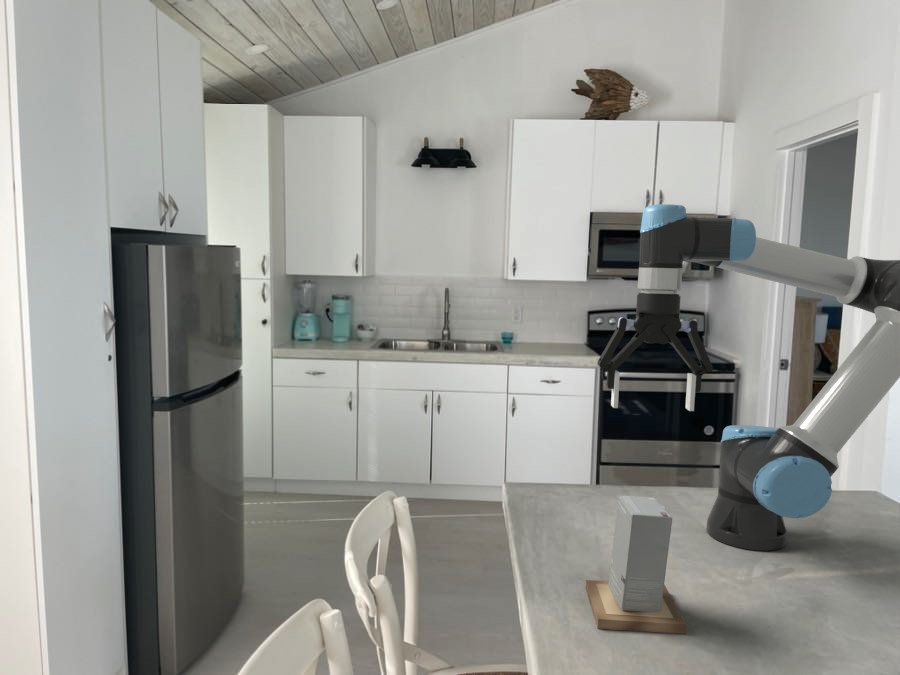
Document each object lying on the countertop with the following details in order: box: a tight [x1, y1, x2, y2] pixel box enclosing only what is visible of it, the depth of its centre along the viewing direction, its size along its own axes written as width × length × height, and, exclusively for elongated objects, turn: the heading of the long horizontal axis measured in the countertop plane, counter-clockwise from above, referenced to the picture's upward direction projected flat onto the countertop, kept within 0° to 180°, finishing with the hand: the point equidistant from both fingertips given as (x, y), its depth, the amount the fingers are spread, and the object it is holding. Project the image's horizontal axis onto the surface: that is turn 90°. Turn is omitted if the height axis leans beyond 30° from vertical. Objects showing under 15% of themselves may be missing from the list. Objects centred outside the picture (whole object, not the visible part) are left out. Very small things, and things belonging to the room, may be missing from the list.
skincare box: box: [608, 495, 673, 612], centre depth 107 cm, size 8×7×16 cm
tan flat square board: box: [585, 579, 687, 635], centre depth 108 cm, size 13×13×2 cm
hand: (651, 408), depth 125 cm, fingers open, 13 cm apart
